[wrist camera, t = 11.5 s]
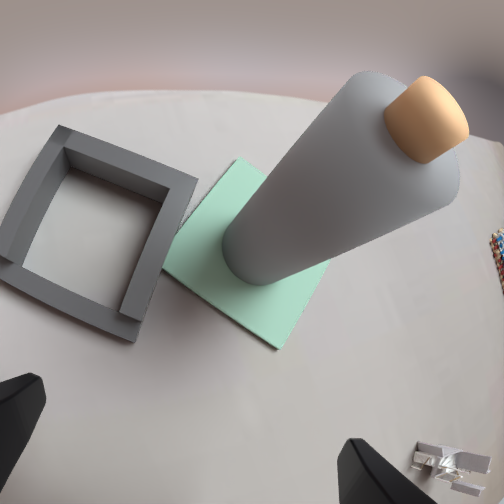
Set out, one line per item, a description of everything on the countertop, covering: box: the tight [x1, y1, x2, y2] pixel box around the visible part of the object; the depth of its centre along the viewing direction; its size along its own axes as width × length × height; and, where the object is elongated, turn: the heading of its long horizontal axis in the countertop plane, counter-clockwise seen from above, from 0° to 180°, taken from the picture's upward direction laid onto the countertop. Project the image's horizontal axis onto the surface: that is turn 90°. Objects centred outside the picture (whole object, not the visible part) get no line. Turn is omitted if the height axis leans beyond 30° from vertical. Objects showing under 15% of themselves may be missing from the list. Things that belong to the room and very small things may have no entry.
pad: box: [162, 157, 331, 350], centre depth 20 cm, size 9×9×1 cm
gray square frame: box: [0, 125, 198, 343], centre depth 16 cm, size 9×9×2 cm
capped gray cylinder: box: [222, 71, 469, 286], centre depth 13 cm, size 5×5×14 cm
